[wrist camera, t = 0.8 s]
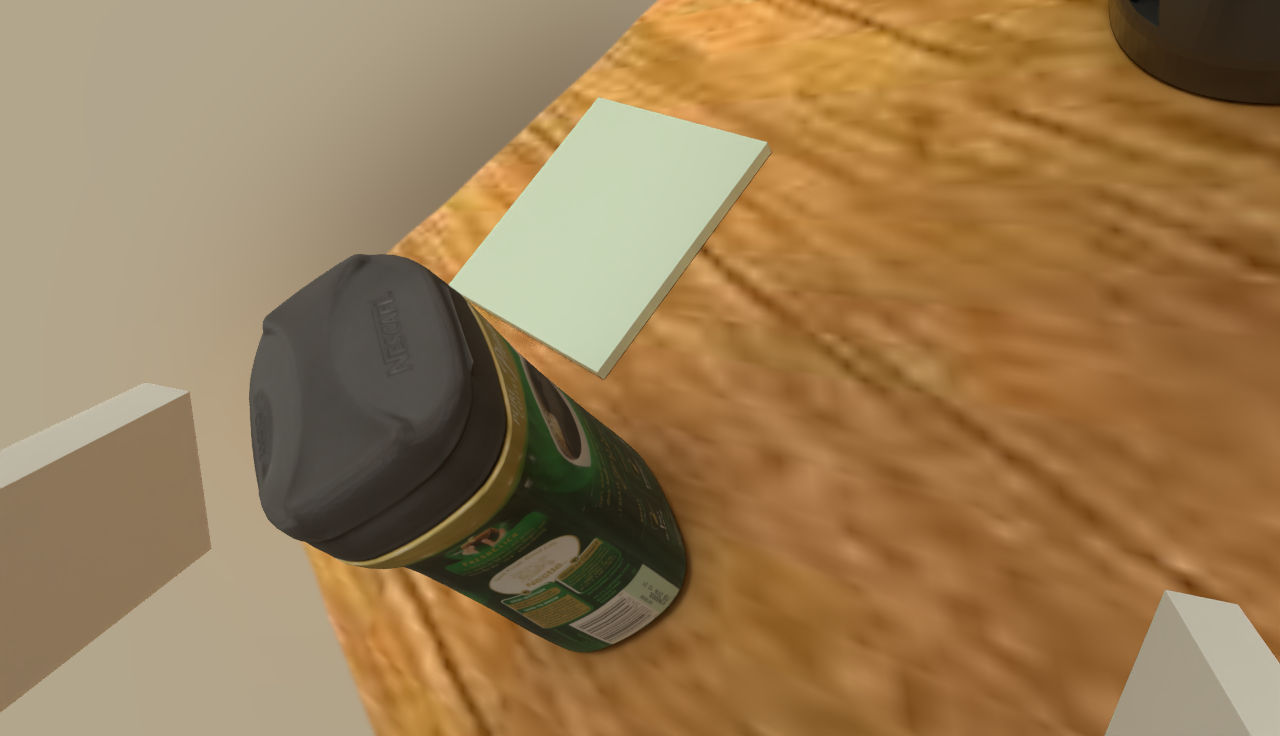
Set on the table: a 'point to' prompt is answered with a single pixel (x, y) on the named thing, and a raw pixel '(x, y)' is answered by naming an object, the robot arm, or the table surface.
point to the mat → (608, 229)
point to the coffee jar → (453, 458)
